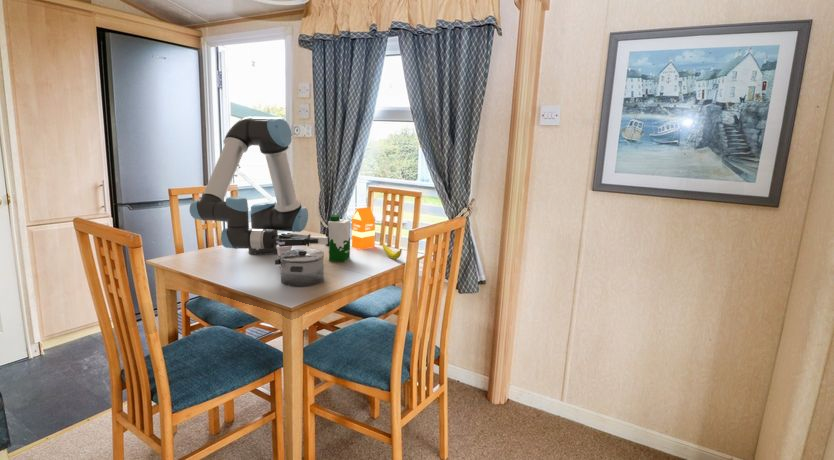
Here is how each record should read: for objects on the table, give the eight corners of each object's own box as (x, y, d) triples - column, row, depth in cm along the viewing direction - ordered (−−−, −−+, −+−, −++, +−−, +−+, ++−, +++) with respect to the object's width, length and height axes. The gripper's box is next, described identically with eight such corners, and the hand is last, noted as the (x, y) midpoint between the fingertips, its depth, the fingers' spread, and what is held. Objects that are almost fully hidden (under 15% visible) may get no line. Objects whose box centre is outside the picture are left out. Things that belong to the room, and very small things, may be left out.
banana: (385, 252, 220) (385, 240, 218) (404, 262, 204) (404, 249, 202) (379, 253, 218) (379, 240, 217) (398, 263, 202) (398, 249, 201)
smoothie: (278, 265, 194) (277, 233, 191) (293, 265, 195) (292, 233, 192) (275, 269, 188) (273, 236, 185) (290, 269, 188) (289, 236, 186)
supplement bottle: (327, 246, 228) (327, 223, 225) (324, 243, 234) (323, 221, 231) (341, 245, 231) (340, 222, 228) (336, 242, 237) (336, 220, 234)
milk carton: (333, 256, 211) (333, 214, 207) (352, 258, 209) (352, 215, 205) (326, 261, 202) (325, 217, 198) (345, 263, 200) (345, 218, 196)
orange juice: (374, 246, 231) (375, 207, 227) (361, 249, 225) (361, 209, 221) (364, 243, 236) (365, 206, 232) (351, 246, 230) (351, 207, 226)
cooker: (328, 272, 186) (327, 251, 184) (318, 289, 166) (317, 265, 164) (284, 271, 185) (283, 250, 184) (269, 288, 165) (268, 264, 163)
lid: (327, 251, 182) (327, 246, 181) (319, 262, 166) (319, 257, 166) (287, 251, 181) (286, 246, 181) (275, 262, 166) (275, 257, 165)
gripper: (270, 244, 179) (330, 246, 180) (259, 253, 166) (324, 254, 167) (269, 226, 177) (330, 227, 178) (258, 233, 165) (324, 234, 165)
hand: (327, 240), depth 172 cm, fingers closed
